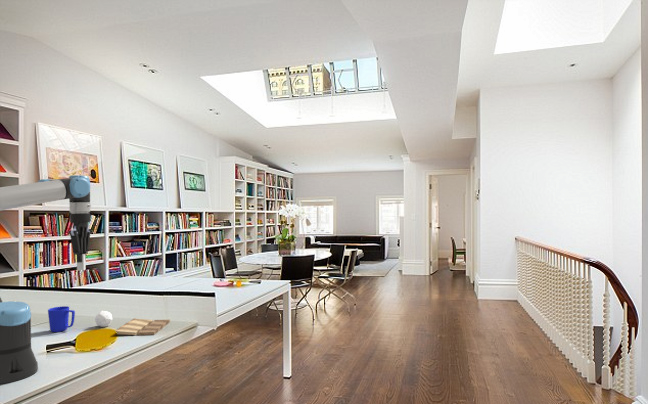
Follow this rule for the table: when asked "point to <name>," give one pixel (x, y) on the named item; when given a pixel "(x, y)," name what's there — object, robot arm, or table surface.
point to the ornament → (103, 319)
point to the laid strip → (154, 327)
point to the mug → (60, 318)
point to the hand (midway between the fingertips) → (81, 270)
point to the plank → (133, 326)
